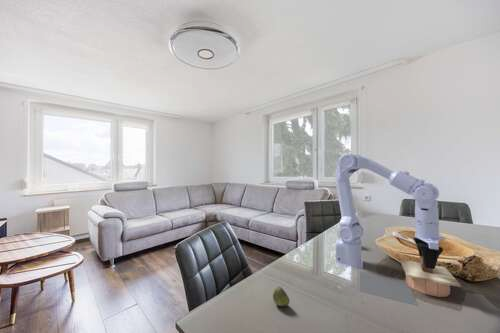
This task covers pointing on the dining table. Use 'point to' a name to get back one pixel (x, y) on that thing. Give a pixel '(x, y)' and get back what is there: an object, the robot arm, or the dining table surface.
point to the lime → (280, 297)
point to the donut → (338, 232)
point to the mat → (386, 287)
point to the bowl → (429, 287)
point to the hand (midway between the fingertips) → (427, 264)
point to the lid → (429, 273)
